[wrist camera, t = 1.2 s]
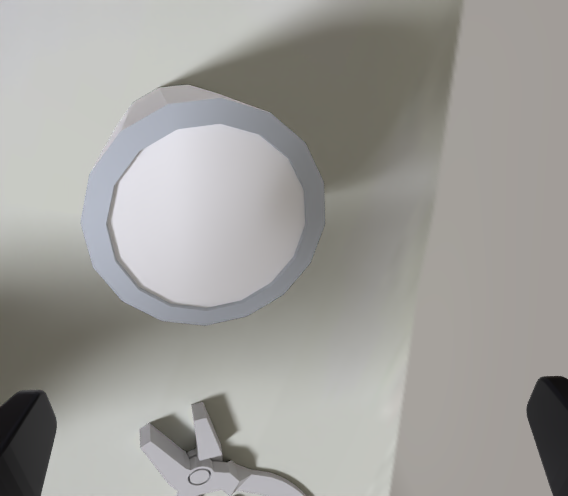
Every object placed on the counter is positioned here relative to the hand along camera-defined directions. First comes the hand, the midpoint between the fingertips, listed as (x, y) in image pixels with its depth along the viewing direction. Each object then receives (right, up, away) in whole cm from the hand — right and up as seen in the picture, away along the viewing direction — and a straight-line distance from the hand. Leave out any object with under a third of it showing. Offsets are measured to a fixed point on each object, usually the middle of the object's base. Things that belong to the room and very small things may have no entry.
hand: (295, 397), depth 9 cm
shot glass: (-4, +6, +11) cm, 13 cm away
